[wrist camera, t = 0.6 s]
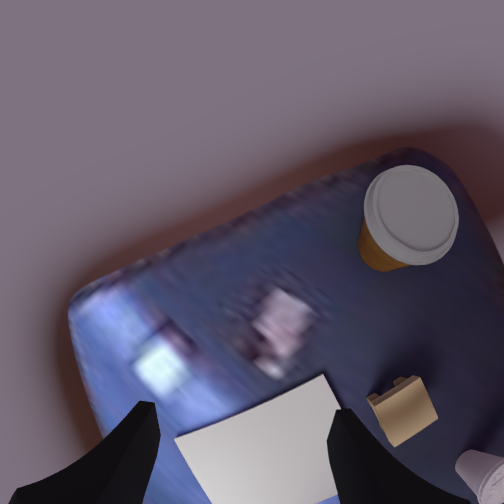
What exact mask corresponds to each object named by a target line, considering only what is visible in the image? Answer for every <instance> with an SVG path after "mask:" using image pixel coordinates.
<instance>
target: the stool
mask: <svg viewBox="0 0 504 504" xmlns="http://www.w3.org/2000/svg"><path fill="white" fill-rule="evenodd" d="M393 383H394V385H395V387H394V388H392V389H391V390H389V391H388V392H386V393H384V394H383V395H381V396H379V395H377V394H376V393H373V394H371V395H369V396H368V397H366V398H367V400H368V402H369V404H370V406H372V408H373V410H374V412H375V414H376V416H377V418H378V420H379V422H378V423H379V425H380V427H381V429H382V430H383V431H384V433H385V435H386V437H387V439H388V441H389V442H390V443H391V444H392V445H393V446H394V447H396V446H398V445H399V444H401V443H402V442H404V441H406V440H407V439H409V438H410V437H412V436H413V435H415V434H416V433H418V432H419V431H421V430H422V429H424V428H425V427H427V426H428V425H430V424H431V423H432V422H434V421H435V420H437V419H438V416H437V414H436V412H435V409H434V407H433V405H432V402H431V400H430V398H429V395H428V393H427V391H426V389H425V386H424V384H423V382H422V380H421V378H420V377H417V376H414V375H412V376H411V377H409V378H408V379H407V378H404V377H401V376H400V377H398V378H397V379H395V380H394V381H393Z"/></svg>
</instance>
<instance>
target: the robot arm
mask: <svg viewBox="0 0 504 504" xmlns="http://www.w3.org/2000/svg"><path fill="white" fill-rule="evenodd" d="M160 436H161V434H160V429H159V424H158V419H157V413H156V408H155V403H153V402H146V401H139V402H138V403H137V404H136V405H135V406H134V408H133V409H132V410H131V411H130V412H129V413H128V414H127V416H126V417H125V418H124V419H123V420H122V421H121V422H120V423H119V424H118V425H117V426H116V427H115V428H114V429H113V431H112V432H111V433H110V434H109V435H108V436H106V437H105V438H104V439H103V440H102V441H101V442H100V443H99V444H98V445H97V446H95V447H94V448H93V449H92V450H91V451H89V452H88V453H87V454H86V455H84V456H83V457H82V458H80V459H79V460H77V461H76V462H74V463H73V464H71V465H69V466H68V467H66V468H65V469H63V470H61V471H59V472H57V473H55V474H53V475H51V476H49V477H47V478H45V479H43V480H40V481H38V482H35V483H32V484H30V485H26V486H23V487H20V488H17V489H16V491H15V492H14V494H13V496H12V498H11V500H10V502H9V504H142V502H143V498H144V495H145V491H146V488H147V485H148V482H149V479H150V476H151V473H152V470H153V467H154V464H155V460H156V457H157V453H158V448H159V442H160ZM326 442H327V450H328V457H329V463H330V467H331V471H332V474H333V478H334V482H335V485H336V489H337V493H338V496H339V500H340V504H471V503H470V501H469V500H466V499H463V498H461V497H458V496H455V495H452V494H450V493H448V492H446V491H444V490H441V489H439V488H437V487H436V486H434V485H432V484H430V483H429V482H427V481H425V480H424V479H422V478H420V477H419V476H417V475H416V474H414V473H413V472H412V471H410V470H409V469H408V468H406V467H405V466H404V465H403V464H401V463H400V462H399V461H398V460H397V459H396V458H395V457H393V456H392V455H391V454H390V453H389V452H388V451H387V450H386V449H385V448H384V447H383V446H382V445H381V444H380V442H379V441H378V440H377V439H376V438H375V437H374V436H373V435H372V434H371V433H370V431H369V430H368V429H367V428H366V427H365V425H364V424H363V423H362V422H361V421H360V419H359V418H358V417H357V416H356V414H355V413H354V412H353V411H352V410H351V409H336V412H335V415H334V418H333V422H332V425H331V428H330V431H329V435H328V438H327V441H326Z"/></svg>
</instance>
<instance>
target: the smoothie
mask: <svg viewBox="0 0 504 504" xmlns="http://www.w3.org/2000/svg"><path fill="white" fill-rule="evenodd" d="M455 470H456V472H457V473H458V474H459V475H460V476H461V478H462V479H463V480H464V481H465V482H466V484H467V485H468V486H469V487H470V488H471V489H472V491H473V492H474V493H475V494H476V496H477V499H478V502H479V503H480V504H502V503H503V502H504V458H503V457H498V456H494V455H490V454H487V453H483V452H479V451H475V450H467V451H465V452H464V453H463V454H461V455H460V457H459V458H458V460H457V462H456V465H455Z"/></svg>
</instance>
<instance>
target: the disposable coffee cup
mask: <svg viewBox="0 0 504 504" xmlns="http://www.w3.org/2000/svg"><path fill="white" fill-rule="evenodd" d="M458 221H459V217H458V208H457V205H456V202H455V199H454V196H453V195H452V193H451V192H450V190H449V188H448V187H447V185H446V184H445V183H444V182H443V181H442V180H441V179H440V178H439V177H438V176H437V175H435V174H434V173H432V172H430V171H429V170H427V169H424V168H422V167H418V166H412V165H402V166H397V167H394V168H391V169H389V170H386V171H384V172H382V173H381V174H379V175H378V176H377V177H376V178H375V179H374V180H373V181H372V183H371V184H370V186H369V188H368V190H367V192H366V196H365V201H364V220H363V224H362V228H361V232H360V235H359V239H358V249H359V252H360V255H361V257H362V259H363V260H364V262H365V263H366V264H367V265H368V266H369V267H371V268H373V269H375V270H378V271H383V272H385V271H391V270H394V269H398V268H402V267H405V266H408V265H426V264H429V263H432V262H435V261H437V260H438V259H440V258H441V257H443V256H444V255H445V254H446V253H447V252H448V251H449V249H450V248H451V246H452V244H453V242H454V239H455V236H456V232H457V228H458Z"/></svg>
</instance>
